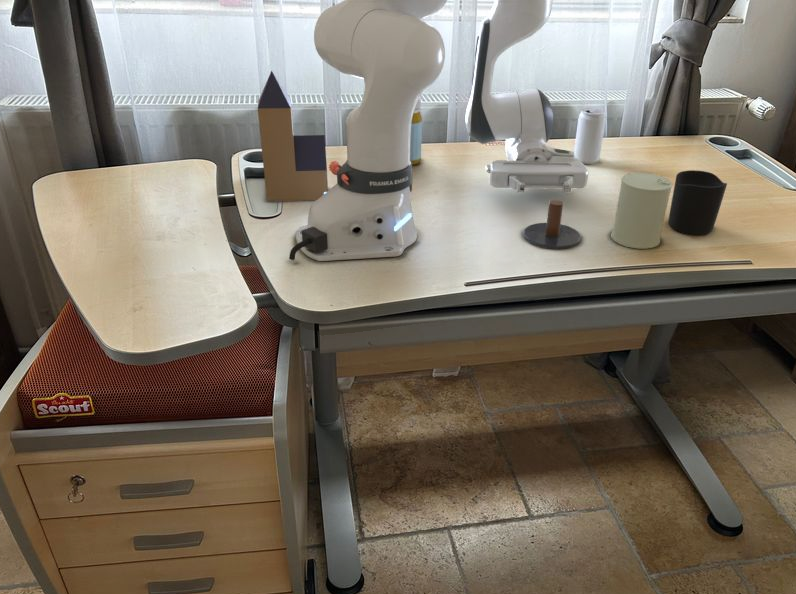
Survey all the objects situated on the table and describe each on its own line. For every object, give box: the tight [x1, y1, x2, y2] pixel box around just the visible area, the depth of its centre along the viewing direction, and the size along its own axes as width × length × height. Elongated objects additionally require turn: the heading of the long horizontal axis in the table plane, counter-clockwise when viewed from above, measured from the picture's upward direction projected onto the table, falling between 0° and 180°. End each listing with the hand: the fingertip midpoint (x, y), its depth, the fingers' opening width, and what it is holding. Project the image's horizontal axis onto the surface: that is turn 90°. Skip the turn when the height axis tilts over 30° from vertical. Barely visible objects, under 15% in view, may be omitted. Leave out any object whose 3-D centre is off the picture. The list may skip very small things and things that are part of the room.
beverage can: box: [573, 107, 607, 165], centre depth 172 cm, size 6×6×12 cm
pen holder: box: [667, 169, 728, 236], centre depth 141 cm, size 9×9×10 cm
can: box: [610, 171, 673, 250], centre depth 135 cm, size 9×9×12 cm
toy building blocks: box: [257, 70, 329, 203], centre depth 149 cm, size 12×19×25 cm, turn 10°
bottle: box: [410, 96, 423, 166], centre depth 167 cm, size 7×7×15 cm
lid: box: [523, 199, 581, 250], centre depth 135 cm, size 11×11×7 cm
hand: (544, 188), depth 143 cm, fingers open, 8 cm apart
